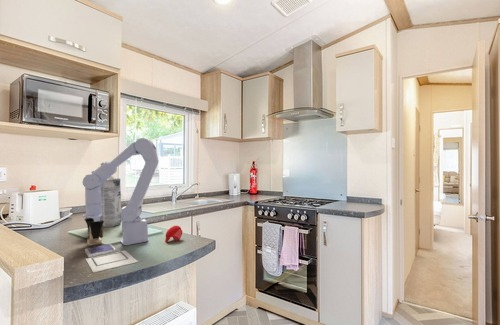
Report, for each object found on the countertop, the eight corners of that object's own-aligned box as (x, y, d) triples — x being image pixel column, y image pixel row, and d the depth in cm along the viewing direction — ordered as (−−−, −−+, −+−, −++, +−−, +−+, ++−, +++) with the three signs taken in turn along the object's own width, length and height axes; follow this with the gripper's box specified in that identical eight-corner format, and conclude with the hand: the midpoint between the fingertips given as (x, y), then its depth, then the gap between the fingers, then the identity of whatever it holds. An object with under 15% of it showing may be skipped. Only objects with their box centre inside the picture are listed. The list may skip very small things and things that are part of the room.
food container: (83, 235, 130) (82, 214, 130) (97, 232, 134) (97, 212, 134) (88, 240, 120) (87, 217, 121) (103, 237, 124) (103, 215, 125)
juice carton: (112, 227, 144) (111, 176, 144) (95, 227, 146) (94, 177, 147) (123, 223, 153) (122, 175, 153) (107, 223, 155) (106, 176, 155)
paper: (125, 251, 103) (125, 250, 103) (137, 262, 91) (137, 261, 91) (85, 259, 95) (85, 258, 95) (93, 272, 83) (93, 271, 83)
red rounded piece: (178, 229, 122) (166, 224, 119) (185, 226, 118) (173, 221, 115) (172, 247, 117) (160, 242, 114) (180, 244, 113) (167, 239, 110)
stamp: (99, 242, 116) (99, 223, 116) (101, 245, 112) (101, 225, 112) (87, 245, 113) (87, 225, 113) (89, 247, 109) (88, 227, 110)
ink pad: (111, 247, 109) (111, 243, 109) (116, 252, 102) (116, 248, 102) (84, 252, 103) (84, 248, 103) (88, 258, 96) (88, 254, 96)
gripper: (79, 202, 116) (80, 234, 116) (84, 206, 105) (85, 242, 104) (98, 201, 120) (99, 232, 120) (105, 204, 109) (106, 238, 109)
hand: (94, 236), depth 113 cm, fingers open, 7 cm apart
